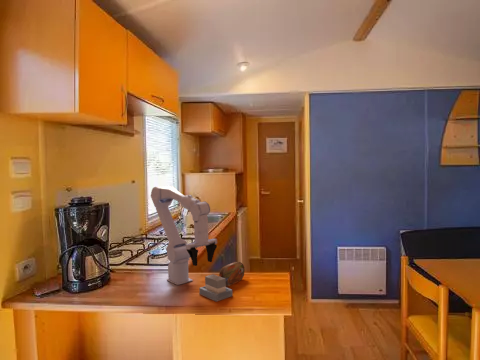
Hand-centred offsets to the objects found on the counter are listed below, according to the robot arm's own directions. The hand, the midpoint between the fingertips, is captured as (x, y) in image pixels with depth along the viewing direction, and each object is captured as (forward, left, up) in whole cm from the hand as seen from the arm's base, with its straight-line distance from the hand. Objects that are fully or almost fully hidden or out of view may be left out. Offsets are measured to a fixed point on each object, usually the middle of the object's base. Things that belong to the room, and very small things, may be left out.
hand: (202, 263), depth 146 cm
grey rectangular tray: (+10, -1, -10) cm, 14 cm away
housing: (+10, -1, -9) cm, 14 cm away
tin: (+3, +13, -11) cm, 17 cm away
